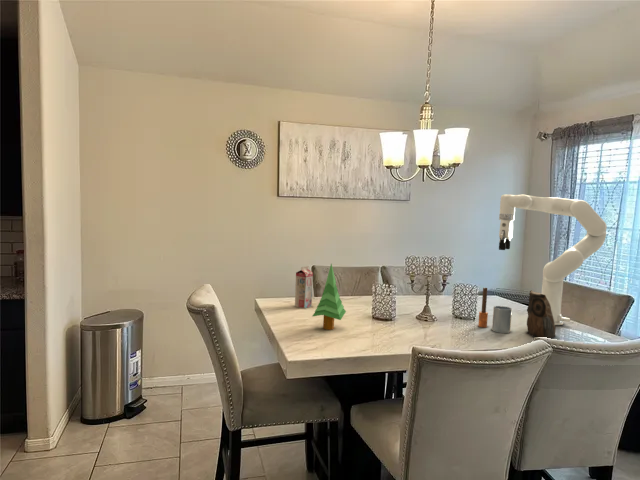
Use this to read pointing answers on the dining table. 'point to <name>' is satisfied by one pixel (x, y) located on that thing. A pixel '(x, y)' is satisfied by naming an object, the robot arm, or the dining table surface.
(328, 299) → the decorative tree
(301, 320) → the dining table surface
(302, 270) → the juice carton
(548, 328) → the owl
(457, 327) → the dining table surface
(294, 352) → the dining table surface
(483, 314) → the orange and brown rod
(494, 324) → the grey cup
